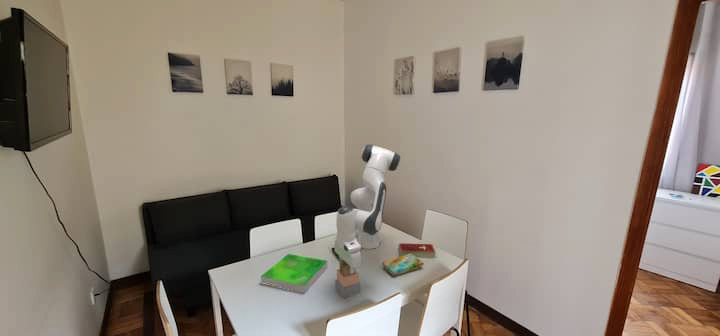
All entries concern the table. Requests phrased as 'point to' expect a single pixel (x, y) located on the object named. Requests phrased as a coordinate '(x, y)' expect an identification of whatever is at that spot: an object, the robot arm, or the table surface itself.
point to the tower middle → (347, 279)
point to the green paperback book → (295, 273)
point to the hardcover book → (417, 250)
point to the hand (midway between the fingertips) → (346, 268)
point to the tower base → (347, 289)
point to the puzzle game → (402, 264)
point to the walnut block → (345, 268)
